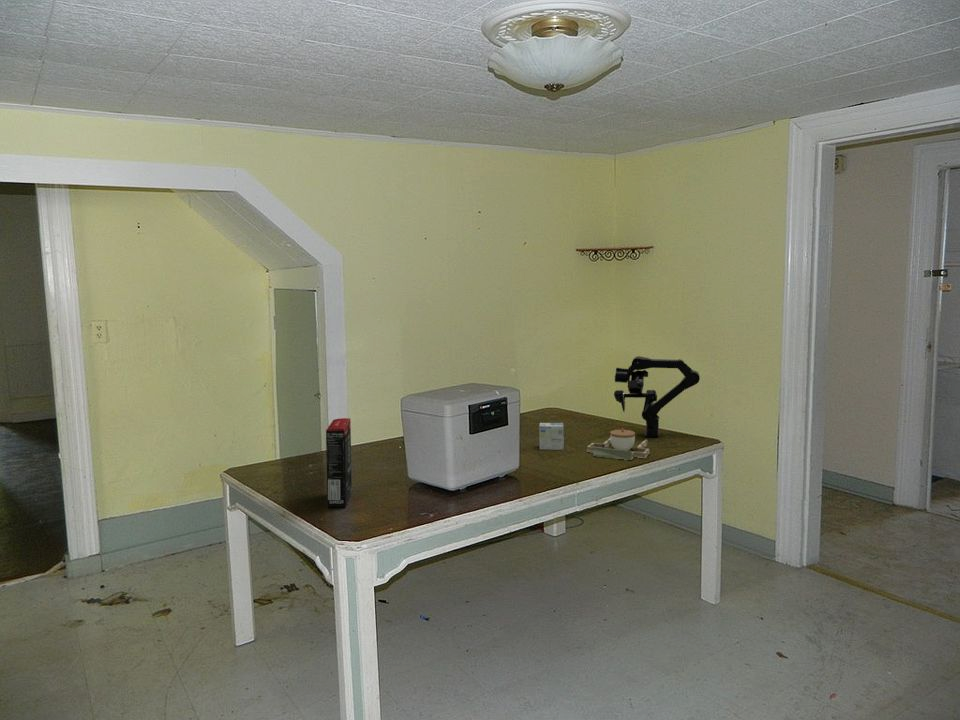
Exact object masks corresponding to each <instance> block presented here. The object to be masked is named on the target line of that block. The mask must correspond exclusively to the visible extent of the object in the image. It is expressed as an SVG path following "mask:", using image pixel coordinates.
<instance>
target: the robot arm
mask: <svg viewBox="0 0 960 720" xmlns="http://www.w3.org/2000/svg"><path fill="white" fill-rule="evenodd" d="M647 369H677V370H679V371H680V373H681V374H682V375H683V376H684V377H682V380H681V381H679V383H677V384H676V385H675V386H674V387H672V388H671V389H670V390H669V391H668V392H666V394H664V395H663V396H661V397H660V398H659V399H658V394H657V391H656V390H655V389H646V391H645V392H643V389H644V385H645V384H644V380H645V378H648V377H649V371H647ZM699 373H700V372H698V371H697V370H694V369H692V368H691V367H690V366H689V365H688V364H687V363H685V361H684V360H683V359H661V358H660V359H659V358H649V357H645V356H639V355H638V356H635V357H634V358H633V359H632V361H631V365H630V366H628V368H623V367H622V368H621V367H616V369H615V375H614V382H615V383H624V384H625V383H626V384H627V388H628V390H627V391H628V392H626V393H625V391H624V390H623V389H622V390H614V393H613V395H614V396H613V397H614V399H615V401H616V402H618V403H620V404H621V409H622V412H623V413H625V410H626V398H628V399H629V398H635V399H636V398H637V399H640V398H644V399H645V400H644V405H643V408H642V411H641V418H642V419H643V420H644V421H645V423H646V424H645V434H643V437H647V438H659V437H660V436H661V433H659V430H660V427H659V425H660V424H659V422H660V416H659V415H658V414H659V412H660V411H661V409H663V408H664V407H666V406H667V405H668V404H670V402H672V401H673V400H674V399H675V398H676V397H678V396H679V395H681V394H682V393H683V392H684V391H685V390H688V389H689V388H691V387H693V386H695V385H697V384H698V383H699V382H700V379H701V377H700V374H699Z"/></svg>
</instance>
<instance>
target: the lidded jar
mask: <svg viewBox="0 0 960 720" xmlns="http://www.w3.org/2000/svg"><path fill="white" fill-rule="evenodd" d="M609 434H610V435H609V436H610V437H609V438H610V440H611V446H612V447H613V449H619V450H629V451H631V449H632V448H633V447H634V445H635V441H636V432H635V431H633V430H630V429H625V428H623V427H622V428H621V429H612V430H610V431H609Z"/></svg>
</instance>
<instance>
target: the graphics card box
mask: <svg viewBox="0 0 960 720" xmlns="http://www.w3.org/2000/svg"><path fill="white" fill-rule="evenodd" d="M351 422H352V420H351V418H347V417H346V418H344V417H343V418H335V419H333V420H332V421H331V422H330V424H329V426H328V427H327V428H326V430H325V444H326V445H325V447H326V448H325V451H326V455H325V456H326V458H325V459H326V495H327V497H326V499H327V500H326V501H327V503H326V505H327V506H326V507H327V508H346V507H347V505H348V503H349V500H350V497H351V495H352V492H353V490H352V435H351V434H352V431H351V430H352V429H351V428H352V427H351Z"/></svg>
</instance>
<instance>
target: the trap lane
mask: <svg viewBox="0 0 960 720" xmlns="http://www.w3.org/2000/svg"><path fill="white" fill-rule="evenodd" d="M610 444H611V440H610V437H609V438H608V439H607V440H605V441H604V442H603V443H600V442H592V443H590V444H588V445H587V446H586V453H587V452H590V453H589V454H592V455H593V456H596V457H595V458H601V457H605V458H604V459H610V458H615V459H614V460H618V459H624V460H623V461H627V460H632V459H633V458H634V457H638V458H637V459H639V458H646V457H647V456H648V455H649V454H650V448H646V447H647V446H648V439H644V440H643V441H642V442H641V443H640V444H639V445H637V447H635V451H632V450H629V451H628V450H619V449H615V448H608V447H610V446H611V445H612V444H611V445H610ZM609 445H610V446H609ZM606 447H607V448H606ZM650 455H651V454H650ZM650 455H649V456H650ZM593 456H592V457H593ZM649 456H648V457H649ZM648 457H647V458H648ZM647 458H646V459H647ZM634 459H635V458H634ZM632 461H633V460H632Z"/></svg>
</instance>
